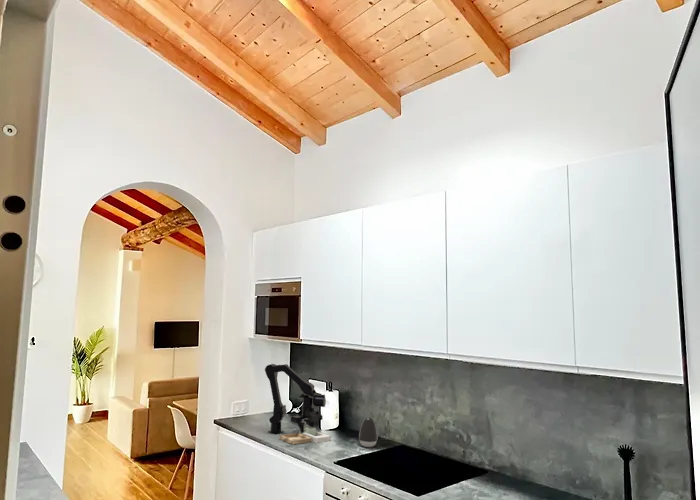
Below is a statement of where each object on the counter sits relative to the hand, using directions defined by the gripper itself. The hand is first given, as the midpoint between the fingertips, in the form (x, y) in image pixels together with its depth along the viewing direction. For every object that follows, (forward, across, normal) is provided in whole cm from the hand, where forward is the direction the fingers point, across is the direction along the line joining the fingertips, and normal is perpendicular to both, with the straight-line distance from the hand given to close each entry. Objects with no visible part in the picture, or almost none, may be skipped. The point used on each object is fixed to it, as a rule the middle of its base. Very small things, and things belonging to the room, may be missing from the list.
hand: (306, 433), depth 296 cm
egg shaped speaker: (+1, +16, -36) cm, 39 cm away
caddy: (+1, 0, 0) cm, 1 cm away
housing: (+1, 0, -9) cm, 9 cm away
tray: (+1, -12, -7) cm, 14 cm away
